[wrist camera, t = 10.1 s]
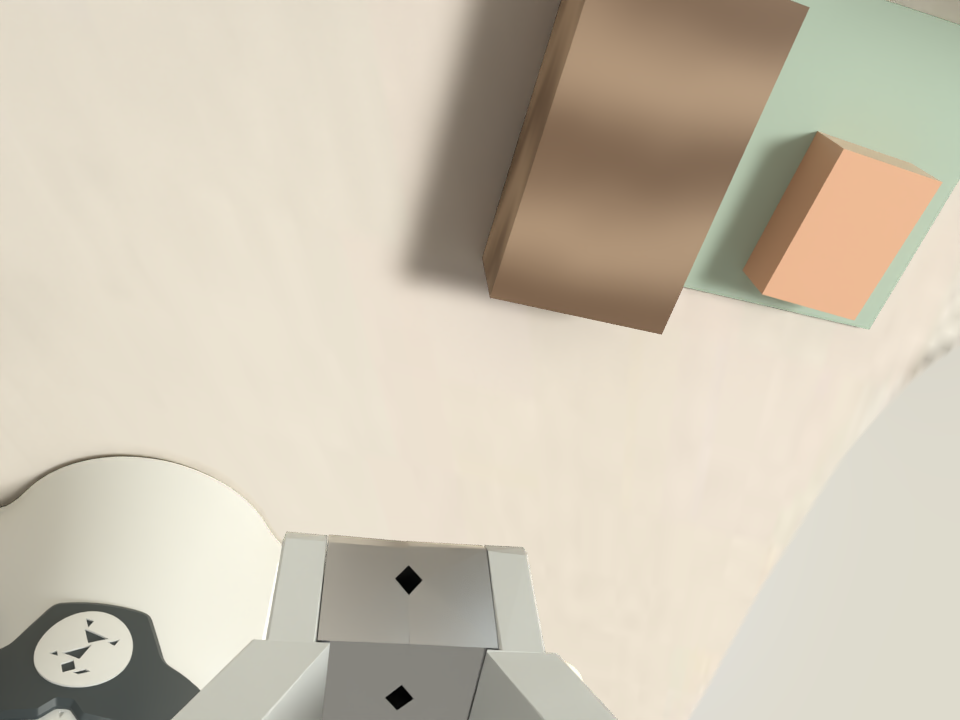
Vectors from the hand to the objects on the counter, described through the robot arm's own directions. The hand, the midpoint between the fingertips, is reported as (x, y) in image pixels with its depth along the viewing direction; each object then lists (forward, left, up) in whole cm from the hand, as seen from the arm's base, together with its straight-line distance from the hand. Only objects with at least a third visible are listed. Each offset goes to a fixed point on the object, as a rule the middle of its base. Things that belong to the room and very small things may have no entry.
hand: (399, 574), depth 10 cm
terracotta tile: (-1, -20, -24) cm, 32 cm away
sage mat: (+1, -20, -27) cm, 34 cm away
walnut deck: (0, -9, -27) cm, 29 cm away
